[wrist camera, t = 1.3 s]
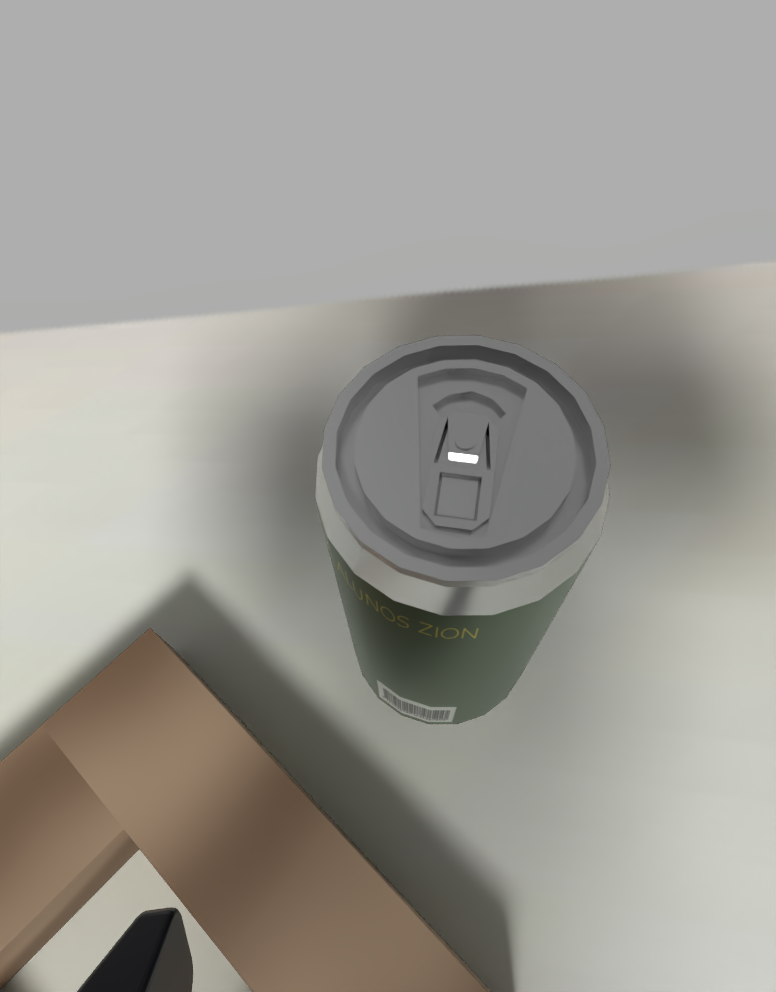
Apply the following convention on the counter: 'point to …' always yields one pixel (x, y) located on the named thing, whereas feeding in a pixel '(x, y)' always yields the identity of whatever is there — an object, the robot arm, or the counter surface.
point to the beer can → (458, 516)
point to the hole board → (199, 839)
